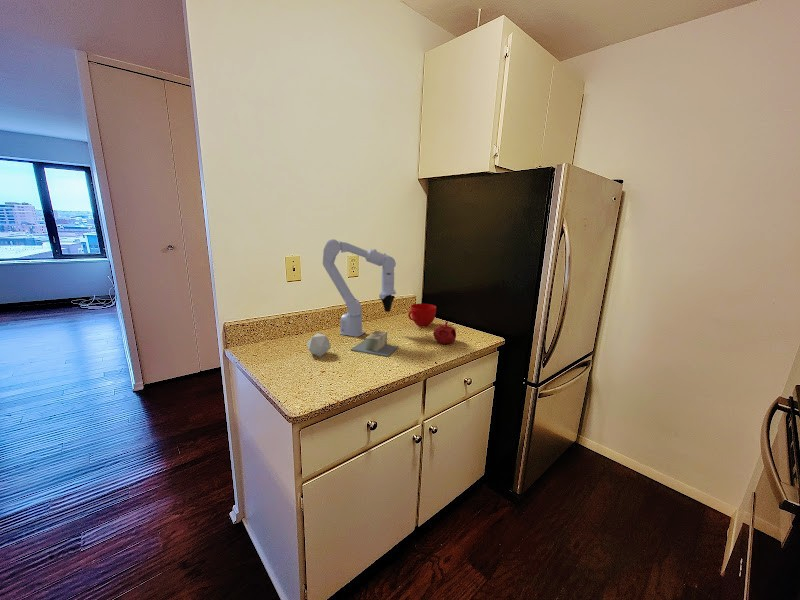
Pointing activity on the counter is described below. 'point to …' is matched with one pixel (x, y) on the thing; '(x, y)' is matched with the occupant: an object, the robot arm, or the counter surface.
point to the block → (376, 341)
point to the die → (318, 344)
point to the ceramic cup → (422, 314)
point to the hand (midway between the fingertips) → (387, 311)
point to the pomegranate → (444, 334)
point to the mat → (383, 351)
